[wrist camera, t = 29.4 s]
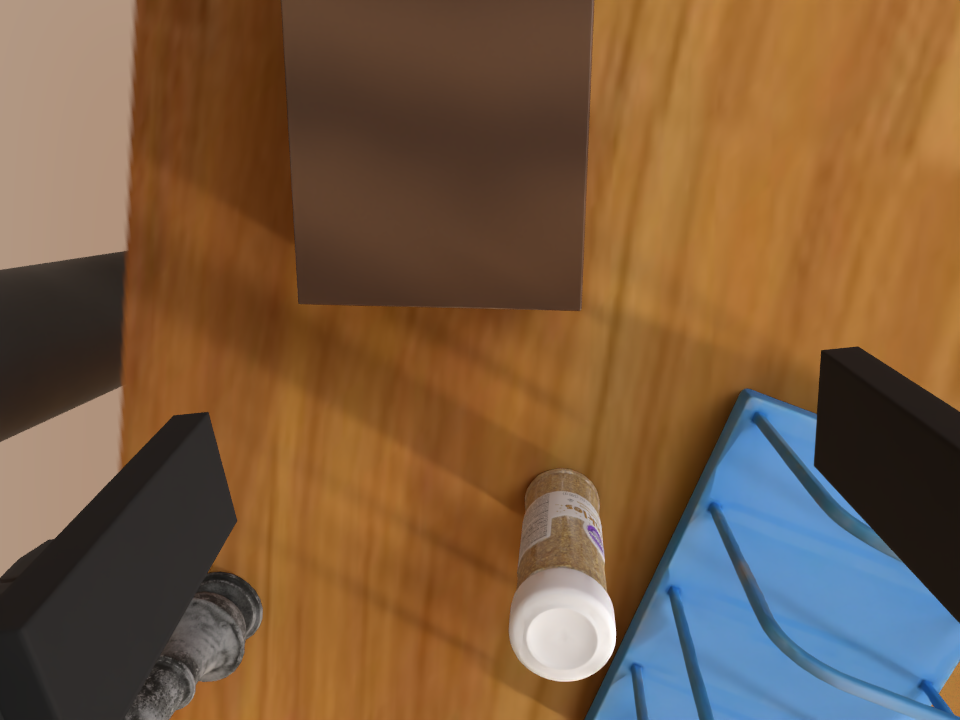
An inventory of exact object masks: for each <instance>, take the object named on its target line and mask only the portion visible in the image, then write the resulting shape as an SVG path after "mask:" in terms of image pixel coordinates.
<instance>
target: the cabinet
mask: <svg viewBox="0 0 960 720" xmlns="http://www.w3.org/2000/svg"><path fill="white" fill-rule="evenodd" d="M281 10H282V27H283V45H284V62H285V80H286V97H287V114H288V132H289V149H290V166H291V184H292V201H293V219H294V236H295V253H296V271H297V288H298V303H299V304H313V305H355V306H396V307H437V308H479V309H520V310H561V311H580V310H581V309H582V285H583V261H584V237H585V213H586V189H587V165H588V141H589V117H590V93H591V69H592V45H593V21H594V0H281Z"/></svg>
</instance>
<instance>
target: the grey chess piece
mask: <svg viewBox="0 0 960 720" xmlns="http://www.w3.org/2000/svg"><path fill="white" fill-rule="evenodd" d="M262 613H263V608H262V605H261V601H260V598H259V597H258V595H257V593H256V591H255V590H254V589H253V588H252V587H251V586H250V585H249V583H247V582H246V581H244V580H243V579H241V578H240V577H238V576H235V575H233V574H230V573H224V572H213V573H208V574H206V576H205V578H204V580H203V581H202V583H201V585H200V587H199V588H198V590H197V592H196V594H195V595H194V597H193V599H192V601H191V602H190V604H189V606H188V608H187V609H186V611H185V613H184V615H183V616H182V618H181V620H180V622H179V623H178V625H177V627H176V629H175V630H174V632H173V634H172V636H171V637H170V639H169V641H168V643H167V644H166V646H165V648H164V650H163V651H162V653H161V655H160V657H159V658H158V660H157V662H156V664H155V665H154V667H153V669H152V671H151V672H150V674H149V676H148V678H147V679H146V681H145V683H144V685H143V686H142V688H141V690H140V692H139V694H138V695H137V697H136V699H135V701H134V702H133V704H132V706H131V708H130V709H129V711H128V713H127V715H126V716H125V718H124V720H169V719H170V717H171V716H172V715H173V713H174V712H175V710H178V709H181V708H183V707H185V706H186V705H188V704H189V703H190V701H191V700H192V698H193V697H194V694H195V685H196V684H197V682H198V681H202V682H208V681H217V680H220V679H223V678H226V677H227V676H229V675H230V674H231V673H233V672H234V671H235V670H236V668H237V667H238V666H239V664H240V663H241V661H242V658H243V655H244V645H245V640H246V639H248V638H249V637H251V636H252V635H253V634H254V633H255V632H256V630H257V629H258V628H259V626H260V623H261V621H262Z"/></svg>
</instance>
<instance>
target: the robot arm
mask: <svg viewBox="0 0 960 720" xmlns="http://www.w3.org/2000/svg"><path fill="white" fill-rule="evenodd" d="M814 467H815V468H816V469H817V470H818V471H819V472H820V473H821V474H822V475H823V476H824V478H825V479H826V480H827V481H828V482H829V483H830V484H831V485H832V486H833V487H834V488H835V489H836V490H837V492H838V493H839V494H840V495H841V496H842V497H843V498H844V499H845V500H846V501H847V502H848V503H849V505H850V506H851V507H852V508H853V509H854V510H855V511H856V512H857V513H858V514H859V515H860V516H861V518H862V519H863V520H864V521H865V522H866V523H867V524H868V525H869V526H870V527H871V528H872V529H873V530H874V532H875V533H876V534H877V535H878V536H879V537H880V538H881V539H882V540H883V541H884V542H885V543H886V545H887V546H888V547H889V548H890V549H891V550H892V551H893V552H894V553H895V554H896V555H897V556H898V558H899V559H900V560H901V561H902V562H903V563H904V564H905V565H906V566H907V567H908V568H909V569H910V570H911V572H912V573H913V574H914V575H915V576H916V577H917V578H918V579H919V580H920V581H921V582H922V583H923V585H924V586H925V587H926V588H927V589H928V590H929V591H930V592H931V593H932V594H933V595H934V596H935V597H936V599H937V600H938V601H939V602H940V603H941V604H942V605H943V606H944V607H945V608H946V609H947V610H948V612H949V613H950V614H951V615H952V616H953V617H954V618H955V619H956V620H957V621H958V622H959V623H960V412H959V411H958V410H956V409H955V408H953V407H951V406H950V405H948V404H947V403H945V402H944V401H942V400H941V399H939V398H937V397H936V396H934V395H933V394H931V393H930V392H928V391H927V390H925V389H923V388H922V387H920V386H919V385H917V384H916V383H914V382H912V381H911V380H909V379H908V378H906V377H905V376H903V375H902V374H900V373H898V372H897V371H895V370H894V369H892V368H891V367H889V366H888V365H886V364H884V363H883V362H881V361H880V360H878V359H877V358H875V357H874V356H872V355H870V354H869V353H867V352H866V351H864V350H863V349H861V348H860V347H849V348H840V349H830V350H821V363H820V378H819V393H818V408H817V423H816V438H815V453H814ZM236 522H237V518H236V514H235V511H234V507H233V503H232V499H231V496H230V492H229V488H228V484H227V481H226V477H225V473H224V469H223V465H222V462H221V458H220V454H219V450H218V447H217V443H216V439H215V435H214V431H213V428H212V424H211V420H210V416H209V413H208V412H204V413H194V414H184V415H174V416H173V417H172V418H171V419H170V420H169V421H168V422H167V423H166V424H165V425H164V426H163V427H162V428H161V429H160V430H159V431H158V432H157V433H156V434H155V435H154V436H153V437H152V438H151V439H150V441H149V442H148V443H147V444H146V445H145V446H144V447H143V448H142V449H141V450H140V451H139V452H138V453H137V454H136V455H135V456H134V457H133V458H132V459H131V460H130V461H129V462H128V463H127V464H126V465H125V466H124V467H123V469H122V470H121V471H120V472H119V473H118V474H117V475H116V476H115V477H114V478H113V479H112V480H111V481H110V482H109V483H108V484H107V485H106V486H105V487H104V488H103V489H102V490H101V491H100V492H99V493H98V494H97V496H95V498H94V499H93V500H92V501H91V502H90V503H89V504H88V505H87V506H86V507H85V508H84V509H83V510H82V511H81V512H80V513H79V514H78V515H77V516H76V517H75V518H74V519H73V520H72V521H71V522H70V523H69V525H68V526H67V527H66V528H65V529H64V530H63V531H62V532H61V533H60V534H59V535H58V536H57V537H56V538H55V539H52V540H48V541H46V542H44V543H43V544H41V545H40V546H39V547H37V548H35V549H34V550H32V551H31V552H29V553H27V554H26V555H24V556H23V557H21V558H20V559H19V560H17V562H16V563H14V564H13V565H12V566H11V568H10V569H8V570H7V571H6V572H5V574H4V575H3V576H1V578H0V720H124V718H125V716H126V715H127V713H128V711H129V709H130V708H131V706H132V704H133V702H134V701H135V699H136V697H137V695H138V694H139V692H140V690H141V688H142V686H143V685H144V683H145V681H146V679H147V678H148V676H149V674H150V672H151V671H152V669H153V667H154V665H155V664H156V662H157V660H158V658H159V657H160V655H161V653H162V651H163V650H164V648H165V646H166V644H167V643H168V641H169V639H170V637H171V636H172V634H173V632H174V630H175V629H176V627H177V625H178V623H179V622H180V620H181V618H182V616H183V615H184V613H185V611H186V609H187V608H188V606H189V604H190V602H191V601H192V599H193V597H194V595H195V594H196V592H197V590H198V588H199V587H200V585H201V583H202V581H203V580H204V578H205V576H206V574H207V573H208V571H209V569H210V567H211V566H212V564H213V562H214V560H215V559H216V557H217V555H218V553H219V552H220V550H221V548H222V546H223V545H224V543H225V541H226V539H227V538H228V536H229V534H230V532H231V531H232V529H233V527H234V525H235V524H236Z"/></svg>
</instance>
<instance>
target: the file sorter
mask: <svg viewBox="0 0 960 720" xmlns="http://www.w3.org/2000/svg"><path fill="white" fill-rule="evenodd" d="M816 423H817V414H815V413H813V412H810V411H807V410H804V409H802V408H799V407H796V406H794V405H791V404H788V403H786V402H783V401H780V400H778V399H775V398H772V397H769V396H767V395H764V394H762V393H759V392H756V391H754V390H751V389H744V390H742V391H741V393H740V394H739V396H738V399H737V401H736V403H735V405H734V407H733V409H732V411H731V414H730V416H729V418H728V420H727V422H726V424H725V426H724V428H723V431H722V433H721V435H720V437H719V439H718V441H717V443H716V445H715V447H714V450H713V452H712V454H711V456H710V458H709V460H708V462H707V464H706V466H705V469H704V471H703V473H702V475H701V477H700V479H699V481H698V483H697V485H696V487H695V490H694V492H693V494H692V496H691V498H690V500H689V502H688V504H687V506H686V508H685V511H684V513H683V515H682V517H681V519H680V521H679V523H678V525H677V527H676V529H675V532H674V534H673V536H672V538H671V540H670V542H669V544H668V546H667V548H666V550H665V553H664V555H663V557H662V559H661V561H660V563H659V565H658V567H657V569H656V571H655V573H654V576H653V578H652V580H651V582H650V584H649V586H648V588H647V590H646V592H645V594H644V596H643V599H642V601H641V603H640V605H639V607H638V609H637V611H636V613H635V615H634V617H633V619H632V622H631V624H630V626H629V628H628V630H627V632H626V634H625V636H624V638H623V640H622V642H621V645H620V647H619V649H618V651H617V653H616V655H615V657H614V659H613V661H612V663H611V665H610V668H609V670H608V672H607V674H606V676H605V678H604V680H603V682H602V684H601V686H600V688H599V690H598V693H597V695H596V697H595V699H594V701H593V703H592V705H591V707H590V709H589V711H588V713H587V715H586V717H585V719H584V720H960V717H958V716H955V715H954V714H953V712H952V711H951V709H950V708H949V707H948V705H947V704H946V703H945V701H944V700H943V699H942V697H941V696H940V695H939V692H940V690H941V689H942V687H943V686H944V684H945V683H946V681H947V680H948V678H949V676H950V675H951V673H952V672H953V670H954V669H955V667H956V666H957V664H958V663H959V661H960V623H959V622H958V621H957V620H956V619H955V618H954V617H953V616H952V615H951V614H950V613H949V612H948V610H947V609H946V608H945V607H944V606H943V605H942V604H941V603H940V602H939V601H938V600H937V599H936V597H935V596H934V595H933V594H932V593H931V592H930V591H929V590H928V589H927V588H926V587H925V586H924V585H923V583H922V582H921V581H920V580H919V579H918V578H917V577H916V576H915V575H914V574H913V573H912V572H911V570H910V569H909V568H908V567H907V566H906V565H905V564H904V563H903V562H902V561H901V560H900V559H899V558H898V556H897V555H896V554H895V553H894V552H893V551H892V550H891V549H890V548H889V547H888V546H887V545H886V543H885V542H884V541H883V540H882V539H881V538H880V537H879V536H878V535H877V534H876V533H875V532H874V530H873V529H872V528H871V527H870V526H869V525H868V524H867V523H866V522H865V521H864V520H863V519H862V518H861V516H860V515H859V514H858V513H857V512H856V511H855V510H854V509H853V508H852V507H851V506H850V505H849V503H848V502H847V501H846V500H845V499H844V498H843V497H842V496H841V495H840V494H839V493H838V492H837V490H836V489H835V488H834V487H833V486H832V485H831V484H830V483H829V482H828V481H827V480H826V479H825V478H824V476H823V475H822V474H821V473H820V472H819V471H818V470H817V469H816V468H815V467H814V453H815V438H816ZM931 704H932V705H933V706H934V707H935V708H934V707H931Z"/></svg>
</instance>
